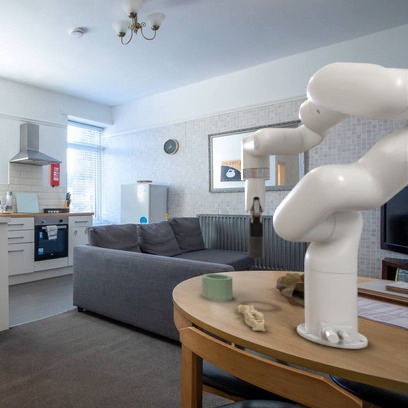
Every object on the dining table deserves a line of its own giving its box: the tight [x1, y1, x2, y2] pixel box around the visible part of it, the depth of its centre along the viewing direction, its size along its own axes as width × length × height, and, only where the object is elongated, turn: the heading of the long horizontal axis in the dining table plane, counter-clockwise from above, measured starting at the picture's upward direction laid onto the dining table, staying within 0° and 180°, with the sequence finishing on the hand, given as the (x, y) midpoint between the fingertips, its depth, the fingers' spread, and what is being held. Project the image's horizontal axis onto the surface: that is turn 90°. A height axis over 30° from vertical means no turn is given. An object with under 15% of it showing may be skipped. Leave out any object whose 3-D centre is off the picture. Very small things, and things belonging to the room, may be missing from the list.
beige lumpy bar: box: [237, 304, 266, 332], centre depth 87 cm, size 17×4×3 cm, turn 169°
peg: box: [247, 217, 265, 259], centre depth 100 cm, size 4×4×12 cm
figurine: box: [275, 272, 305, 308], centre depth 103 cm, size 15×9×20 cm
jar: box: [201, 273, 234, 301], centre depth 108 cm, size 9×9×7 cm
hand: (256, 235), depth 100 cm, fingers closed on peg, 4 cm apart
